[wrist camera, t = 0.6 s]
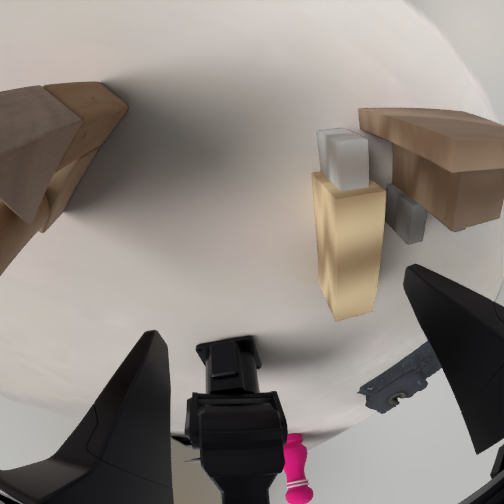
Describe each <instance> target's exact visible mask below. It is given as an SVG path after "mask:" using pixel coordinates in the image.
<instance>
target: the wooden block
mask: <svg viewBox="0 0 504 504" xmlns="http://www.w3.org/2000/svg"><path fill="white" fill-rule="evenodd" d="M127 110H128V106H127V104H126V103H125V102H124V101H122V100H121V99H120V98H119V97H117V96H116V95H115V94H114V93H112V92H111V91H110V90H109V89H107V88H106V87H105V86H103V85H102V84H101V83H100V82H74V83H60V84H50V85H44V86H43V87H42V86H39V85H38V86H31V87H24V88H18V89H12V90H7V91H2V92H0V276H1V275H2V273H3V272H4V271H5V269H6V268H7V267H8V265H9V264H10V263H11V262H12V260H13V259H14V258H15V257H16V256H17V254H18V253H19V252H20V251H21V250H22V248H23V247H24V246H25V245H26V244H27V243H28V241H29V240H30V239H31V238H32V237H33V236H34V235H35V234H36V233H37V231H40V232H41V233H44V232H45V231H46V230H47V229H48V228H49V227H50V226H51V225H52V224H53V223H54V222H55V220H56V219H57V218H58V217H59V216H60V215H61V214H62V213H63V211H64V209H65V207H66V205H67V203H68V201H69V199H70V198H71V196H72V194H73V192H74V190H75V188H76V187H77V185H78V183H79V181H80V180H81V178H82V176H83V175H84V173H85V171H86V170H87V168H88V166H89V165H90V163H91V161H92V160H93V158H94V157H95V155H96V154H97V152H98V151H99V148H100V145H101V144H103V143H104V142H105V140H106V139H107V138H108V136H109V135H110V133H111V132H112V130H113V129H114V128H115V126H116V125H117V124H118V122H119V121H120V120H121V118H122V117H123V116H124V114H125V113H126V112H127Z"/></svg>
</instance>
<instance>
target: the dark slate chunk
mask: <svg viewBox="0 0 504 504" xmlns="http://www.w3.org/2000/svg"><path fill="white" fill-rule="evenodd" d="M440 368H442V367H441V365H440V363H439V361H438V359H437V357H436V355H435V353H434V351H433V349H432V347H431V345H430V343H429V341H427V342H426V343H424V344H423V345H421V346H420V347H419V348H418V349H416V350H415V351H413V352H412V353H411V354H409V355H408V356H407V357H405V358H404V359H402V360H401V361H400V362H398V363H397V364H395V365H394V366H392V367H391V368H389V369H388V370H387V371H385V372H384V373H382V374H381V375H379V376H378V377H376V378H374V379H373V380H371V381H369V382H368V383H366V384H365V385H363V386H361V387H360V391H359V392H357V393H360V394H364V395H366V405H365V406H366V407H368V408H370V409H373V410H377V411H378V412H380V413H381V414H383V413H386V411H388V410H390V409H391V408H393V407H396V405H398V404H399V402H398V399H397V398H398V397H399V398H409V397H412V396H413V395H414V394H415V393H416V392H417V391H421V390H423V389H424V388H426V387H427V385H428V383H427V381H426V378H427V377H430V376H431V375H432V374H434V373H436V371H438V370H439V369H440Z"/></svg>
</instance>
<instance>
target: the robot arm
mask: <svg viewBox="0 0 504 504" xmlns="http://www.w3.org/2000/svg"><path fill="white" fill-rule="evenodd" d="M403 287H404V290H405V293H406V295H407V297H408V299H409V301H410V304H411V306H412V308H413V310H414V313H415V315H416V317H417V320H418V322H419V324H420V326H421V328H422V330H423V332H424V333H425V335H426V337H427V339H428V341H429V343H430V345H431V347H432V349H433V351H434V353H435V355H436V357H437V359H438V361H439V363H440V365H441V367H442V369H443V371H444V373H445V375H446V377H447V380H448V382H449V384H450V386H451V388H452V391H453V393H454V395H455V398H456V400H457V403H458V405H459V407H460V410H461V411H462V412H461V413H462V415H463V418H464V421H465V423H466V426H467V428H468V431H469V434H470V437H471V440H472V443H473V445H474V449H475V452H476V454H479V453H481V452H483V451H485V450H486V449H488V448H489V447H491V446H493V445H494V444H496V443H497V442H499V441H500V440H502V439H503V438H504V307H503V306H501V305H499V304H497V303H496V302H494V301H493V302H492V300H490V299H488V298H486V297H484V296H482V295H480V294H478V293H476V292H474V291H472V290H470V289H468V288H466V287H464V286H462V285H460V284H458V283H456V282H454V281H452V280H450V279H448V278H446V277H444V276H442V275H440V274H438V273H436V272H433V271H431V270H429V269H427V268H425V267H423V266H420V265H418V264H413V265H410V266H408V267H407V268H406V270H405V277H404V282H403ZM196 352H197V353H198V355H199V357H200V358H201V360H202V362H203V363H204V365H205V367H206V394H201V393H195V392H193V393H192V397H191V398H190V399H188V400H187V414H186V422H185V435H186V436H187V437H188V438H189V439H190V442H191V443H192V447H193V449H195V450H200V459H201V466H202V468H203V469H204V470H205V472H206V473H207V474H208V476H209V477H210V478H211V480H212V481H213V482H214V484H215V485H216V486H217V487H218V489H219V490H220V493H221V504H270V503H269V492H268V489H269V487H270V485H271V484H272V482H273V481H274V479H275V477H276V475H277V474H278V473H281V472H282V470H283V468H284V465H285V457H284V448H283V446H285V445H286V443H287V438H288V430H287V423H286V419H285V415H284V412H283V409H282V407H281V404H280V401H279V398H278V395H277V392H276V391H271V392H267V393H260V391H259V384H258V377H257V370H256V369H260V368H261V362H260V359H259V356H258V352H257V349H256V346H255V343H254V339H253V337H251V336H247V337H242V338H236V339H231V340H225V341H219V342H213V343H207V344H200V345H197V346H196ZM170 398H171V385H170V372H169V358H168V347H167V345H166V343H165V341H164V340H163V338H162V337H161V335H160V334H159V332H158V331H157V330H150V331H146V332H145V333H144V334H143V335H142V336H141V338H140V339H139V341H138V342H137V343H136V345H135V346H134V347H133V349H132V350H131V351H130V353H129V354H128V356H127V357H126V358H125V360H124V361H123V362H122V364H121V365H120V367H119V368H118V369H117V371H116V372H115V374H114V375H113V376H112V378H111V379H110V381H109V382H108V384H107V385H106V386H105V388H104V389H103V391H102V392H101V394H100V395H99V396H98V398H97V399H96V401H95V402H94V404H93V405H92V407H91V408H90V409H89V411H88V412H87V414H86V415H85V417H84V418H83V419H82V421H81V422H80V423H79V425H78V426H77V427H76V429H75V430H74V431H73V432H72V434H71V435H70V436H69V437H68V439H67V440H66V441H65V442H64V444H63V445H62V446H61V447H60V448H59V450H58V451H57V452H56V453H55V454H54V455H53V456H51V457H50V458H48V459H46V460H43V461H40V462H37V463H33V464H30V465H26V466H23V467H19V468H16V469H12V470H4V471H3V470H0V490H1V491H2V492H4V493H5V494H7V495H8V496H7V495H5V494H3V493H1V492H0V504H174V502H173V488H172V472H171V446H170V445H171V444H170V443H171V442H170ZM490 475H491V478H492V480H491V481H489V482H488V483H487V484H485V485H484V486H483V487H481V488H480V489H479V490H477V491H476V492H475V493H473V494H472V495H471V496H469V497H467V498H466V499H464V500H463V501H461V502H460V503H459V504H504V444H503V445H502V446H501V447H500V448H499V450H498V454H497V457H496V460H495V463H494V466H493V469H492V472H491V474H490ZM9 496H10V497H9Z"/></svg>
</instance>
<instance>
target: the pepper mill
mask: <svg viewBox="0 0 504 504" xmlns="http://www.w3.org/2000/svg"><path fill="white" fill-rule="evenodd" d="M302 441H303V440H302V435H301V434H288V438H287V443H286V445H285V446H283V448H284V457H285V465H284V468H283V469H284V471H285V473H286V476H287V483H286V485H287V487H286V488H287V489H288V491H287V493H286V495H285V496H286V500H287V501H288V503H290V504H306V503H308V502H309V501H310V500H311V499H312V497H313V491H312V489H311V488H309V487H308V486H307V485H308V484H309V483H308V480H307V479H306V478H305V474H304V466H305V462H306V458H307V449H306V447H305V446H304V445H302V444H301V442H302Z"/></svg>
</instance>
